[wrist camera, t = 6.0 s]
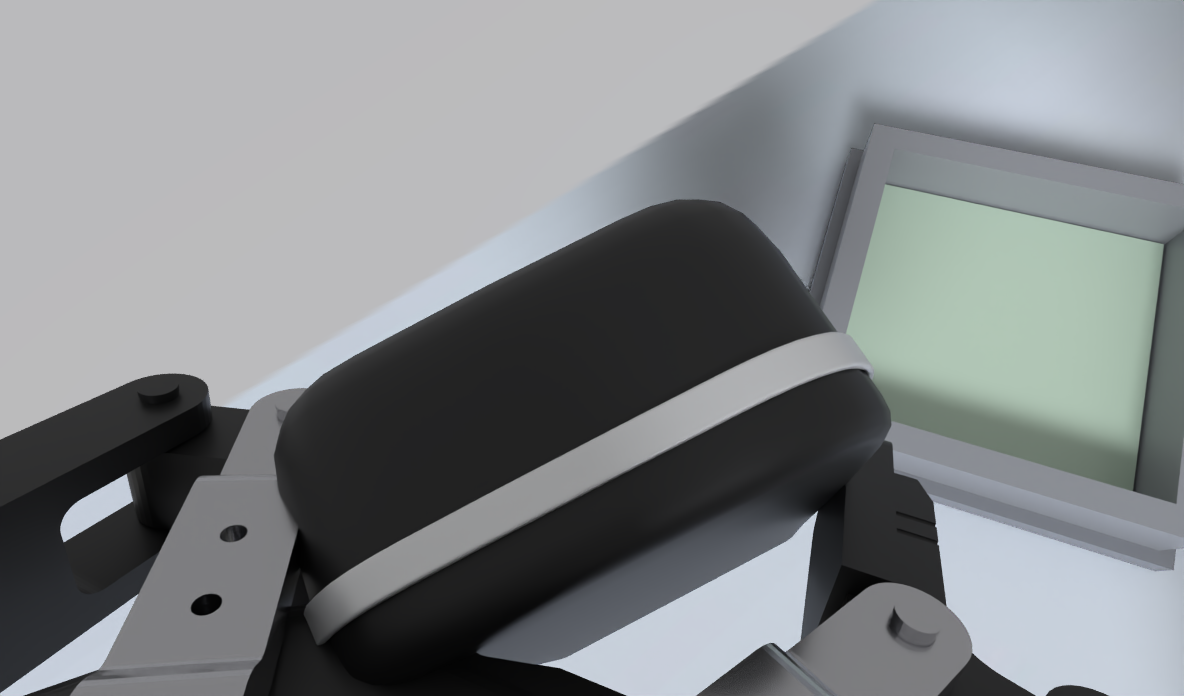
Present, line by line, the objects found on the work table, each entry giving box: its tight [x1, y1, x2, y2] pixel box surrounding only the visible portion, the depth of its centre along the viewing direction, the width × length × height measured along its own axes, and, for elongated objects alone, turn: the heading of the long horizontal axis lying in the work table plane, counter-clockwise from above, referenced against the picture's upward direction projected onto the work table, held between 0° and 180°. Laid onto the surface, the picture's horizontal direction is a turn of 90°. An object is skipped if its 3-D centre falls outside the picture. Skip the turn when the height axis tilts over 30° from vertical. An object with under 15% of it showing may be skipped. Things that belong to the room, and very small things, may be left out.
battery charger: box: [274, 200, 892, 685], centre depth 12 cm, size 7×4×11 cm, turn 116°
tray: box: [810, 123, 1184, 571], centre depth 27 cm, size 14×14×4 cm
